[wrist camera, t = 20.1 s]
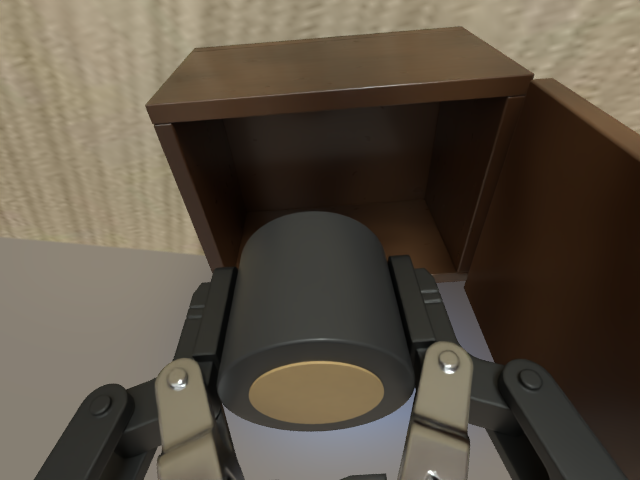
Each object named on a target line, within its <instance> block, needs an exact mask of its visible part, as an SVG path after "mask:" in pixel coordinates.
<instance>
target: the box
mask: <svg viewBox="0 0 640 480" xmlns="http://www.w3.org/2000/svg"><path fill="white" fill-rule="evenodd" d="M533 77H534V74H533V73H532V72H530V71H529V70H527V69H526V68H524V67H523V66H521V65H520V64H518V63H517V62H515V61H514V60H512V59H510V58H509V57H507V56H506V55H504V54H503V53H501V52H500V51H498V50H497V49H495V48H494V47H492V46H491V45H489V44H488V43H486V42H484V41H483V40H481V39H480V38H478V37H477V36H475V35H474V34H472V33H471V32H469V31H468V30H466V29H464V28H463V27H449V28H437V29H425V30H412V31H400V32H388V33H376V34H364V35H352V36H340V37H328V38H315V39H303V40H291V41H279V42H267V43H255V44H243V45H230V46H218V47H206V48H195V49H194V50H193V51H192V52H191V53H190V54H189V55H188V56H187V58H186V59H185V60H184V61H183V62H182V63H181V64H180V66H179V67H178V68H177V69H176V70H175V71H174V73H173V74H172V75H171V76H170V77H169V78H168V79H167V81H166V82H165V83H164V84H163V85H162V86H161V87H160V89H159V90H158V91H157V92H156V93H155V94H154V96H153V97H152V98H151V99H150V100H149V101H148V102H147V104H146V105H145V106H146V109H147V111H148V114H149V116H150V119H151V121H152V124H154V128H155V131H156V133H157V136H158V138H159V141H160V143H161V146H162V148H163V151H164V153H165V156H166V158H167V161H168V163H169V166H170V168H171V171H172V173H173V176H174V178H175V181H176V183H177V186H178V188H179V191H180V193H181V196H182V198H183V201H184V203H185V206H186V208H187V211H188V213H189V216H190V218H191V221H192V223H193V226H194V228H195V231H196V233H197V236H198V238H199V241H200V243H201V246H202V248H203V251H204V253H205V256H206V258H207V260H208V263H209V266H210V268H211V271H212V273H213V272H214V269H215V268H220V267H234V266H236V267H237V269H239V264H240V259H241V254H242V251H243V248H244V246H245V244H246V243H247V241H248V240H249V239H250V237H251V236H252V235H253V234H254V233H255V232H256V231H257V230H258V229H259V228H261V227H262V226H264V225H265V224H267V223H268V222H270V221H272V220H274V219H276V218H279V217H282V216H285V215H288V214H292V213H297V212H305V211H324V212H332V213H337V214H341V215H344V216H347V217H350V218H352V219H354V220H356V221H358V222H360V223H362V224H363V225H365V226H366V227H367V228H369V229H370V230H371V231H372V232H373V233H374V234H375V235H376V236H377V237H378V239H379V240H380V242H381V244H382V246H383V248H384V251H385V255H386V259H387V263H388V257H389V256H395V255H410V257H411V260H412V263H413V267H414V268H425V269H426V270H427V271H428V272H429V273H430V274H431V275H432V276H433V277H434V278H435V281H436V283H441V282H455V281H466V279H467V276H468V273H469V270H470V267H471V264H472V261H473V258H474V255H475V251H476V248H477V245H478V242H479V239H480V236H481V233H482V230H483V227H484V223H485V220H486V217H487V214H488V211H489V208H490V205H491V202H492V199H493V196H494V192H495V189H496V186H497V183H498V180H499V177H500V174H501V171H502V168H503V165H504V161H505V158H506V155H507V152H508V149H509V146H510V143H511V140H512V137H513V133H514V130H515V127H516V124H517V121H518V118H519V115H520V112H521V109H522V106H523V102H524V99H525V96H526V93H527V90H528V87H529V84H530V81H531V80H533Z"/></svg>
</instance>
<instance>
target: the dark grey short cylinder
mask: <svg viewBox="0 0 640 480" xmlns="http://www.w3.org/2000/svg"><path fill="white" fill-rule="evenodd" d="M216 388H217V394H218V397H219V399H220V401H221V402H222V403H223V405H224V406H225V407H226V408H227V409H228V410H230V411H231V412H232V413H234V414H235V415H237V416H239V417H241V418H243V419H245V420H248V421H250V422H252V423H256V424H259V425H262V426H266V427H270V428H276V429H282V430H290V431H329V430H338V429H345V428H350V427H355V426H359V425H363V424H366V423H369V422H372V421H375V420H378V419H380V418H383V417H385V416H387V415H389V414H391V413H393V412H394V411H396V410H397V409H399V408H400V407H401V406H402V405H404V404H405V403H406V402H407V401H408V400H409V398H410V397H411V395H412V393H413V391H414V388H415V375H414V370H413V366H412V362H411V358H410V354H409V350H408V346H407V341H406V337H405V333H404V329H403V325H402V321H401V317H400V313H399V308H398V304H397V300H396V296H395V292H394V288H393V284H392V280H391V275H390V271H389V267H388V263H387V259H386V255H385V251H384V248H383V246H382V244H381V242H380V240H379V239H378V237H377V236H376V235H375V234H374V233H373V232H372V231H371V230H370V229H369V228H367V227H366V226H365V225H363V224H362V223H360V222H358V221H356V220H354V219H352V218H350V217H347V216H344V215H341V214H337V213H332V212H324V211H305V212H297V213H292V214H288V215H285V216H282V217H279V218H276V219H274V220H272V221H270V222H268V223H267V224H265V225H264V226H262V227H261V228H259V229H258V230H257V231H256V232H255V233H254V234H253V235H252V236H251V237H250V239H249V240H248V241H247V243H246V244H245V246H244V248H243V251H242V254H241V259H240V264H239V269H238V274H237V280H236V285H235V290H234V295H233V300H232V306H231V311H230V316H229V321H228V326H227V332H226V337H225V342H224V347H223V352H222V358H221V363H220V368H219V373H218V378H217V385H216Z"/></svg>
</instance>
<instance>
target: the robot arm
mask: <svg viewBox="0 0 640 480" xmlns="http://www.w3.org/2000/svg"><path fill="white" fill-rule="evenodd" d="M388 267H389V271H390V275H391V280H392V284H393V288H394V292H395V296H396V300H397V304H398V308H399V313H400V317H401V321H402V325H403V329H404V333H405V337H406V341H407V346H408V350H409V354H410V358H411V362H412V366H413V370H414V375H415V388H416V393H415V397H414V402H413V407H412V412H411V416H410V422H409V426H408V431H407V436H406V441H405V446H404V451H403V455H402V459H401V464H400V468H399V473H398V478H397V480H467V478H468V477H467V476H468V465H469V454H470V439H469V437H468V434H467V429H468V423H469V424H472V425H476V426H479V427H483V428H485V429H486V431H487V433H488V434H489V437H490V438H491V440H492V442H493V444H494V446H495V448H496V450H497V452H498V453H499V455H500V457H501V459H502V461H503V463H504V465H505V467H506V469H507V471H508V472H509V474H510V476H511V478H512V480H628V478H627V477H626V476H625V474H624V473H623V472H622V470H621V469H620V468H619V466H618V465H617V464H616V462H615V461H614V459H613V458H612V457H611V455H610V454H609V453H608V451H607V450H606V449H605V447H604V446H603V445H602V443H601V442H600V441H599V439H598V438H597V436H596V435H595V434H594V432H593V431H592V430H591V428H590V427H589V426H588V424H587V423H586V422H585V420H584V419H583V418H582V416H581V415H580V413H579V412H578V411H577V409H576V408H575V407H574V405H573V404H572V403H571V401H570V400H569V399H568V397H567V396H566V395H565V393H564V392H563V390H562V389H561V388H560V386H559V385H558V384H557V382H556V381H555V380H554V378H553V377H552V376H551V374H550V373H549V372H548V371H547V370H546V369H545V368H543V367H542V366H541V365H539V364H537V363H535V362H533V361H530V360H527V359H514V360H511V361H510V362H508V363H507V364H506V365H501V364H497V363H493V362H489V361H485V360H481V359H478V358H476V357H474V356H472V355H470V354H469V353H467V352H466V351H465V350H464V349H463V348H462V347H461V346H460V344H459V343H458V341H457V339H456V336H455V333H454V331H453V328H452V325H451V322H450V320H449V317H448V315H447V311H446V309H445V306H444V304H443V302H442V298H441V295H440V293H439V289H438V287H437V284H436V281H435V278H434V277H433V276H432V275H431V274H430V273H429V272H428V271H427V270H426V269H425V268H414V267H413V263H412V260H411V257H410V255H395V256H389V257H388ZM237 274H238V269H237V267H236V266H234V267H220V268H215V269H214V272H213V276H212V279H211V282H208V283H201V285H200V286H199V287H198V289H197V290H196V291H195V292H194V294H193V296H192V300H191V303H190V306H189V307H190V309H189V310H188V313H187V319H186V320H185V323H184V326H183V329H182V333H181V336H180V340H179V343H178V346H177V350H176V353H175V356H174V359H173V361H172V362H171V363H169V364H168V365H166V366H165V367H164V368H163V369H162V370H161V372H160V373H159V374H158V377H156V378H154V379H152V380H150V381H148V382H145V383H142V384H140V385H137V386H134V387H132V388H129V389H127V390H126V389H125V388H124V387H122V386H121V385H119V384H107V385H104V386H101V387H99V388H98V389H96V390H94V391H93V392H92V393H90V394H89V395H88V396H87V397H86V399H85V400H84V401H83V403H82V404H81V406H80V407H79V408H78V410H77V412H76V414H75V415H74V417H73V418H72V420H71V421H70V423H69V425H68V426H67V428H66V429H65V431H64V432H63V434H62V436H61V437H60V439H59V440H58V442H57V444H56V445H55V447H54V448H53V450H52V452H51V453H50V455H49V456H48V458H47V459H46V461H45V463H44V464H43V466H42V467H41V469H40V471H39V472H38V474H37V475H36V477H35V479H34V480H144V477H145V475H146V473H147V470H148V468H149V466H150V463H151V461H152V459H153V457H154V454H155V452H156V450H157V447H158V446H160V445H162V453H161V455H159V456H158V459H157V474H158V480H245V479H244V476H243V473H242V470H241V468H240V465H239V463H238V460H237V457H236V453H235V450H234V446H233V442H232V438H231V435H230V431H229V427H228V423H227V420H226V416H225V413H224V409H223V405H222V402H221V401H220V399H219V397H218V394H217V388H216V385H217V378H218V373H219V368H220V363H221V358H222V352H223V347H224V342H225V337H226V332H227V326H228V321H229V316H230V311H231V306H232V300H233V295H234V290H235V285H236V280H237ZM341 480H387V477H386V474H370V475H352V476H348V477H346V478H343V479H341Z"/></svg>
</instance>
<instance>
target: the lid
mask: <svg viewBox="0 0 640 480" xmlns="http://www.w3.org/2000/svg"><path fill="white" fill-rule="evenodd" d="M464 289H465V292H466V294H467V296H468V299H469V301H470V304H471V306H472V309H473V311H474V313H475V316H476V319H477V321H478V323H479V326H480V328H481V330H482V333H483V335H484V338H485V340H486V343H487V345H488V348H489V350H490V352H491V355H492V357H493V360H494V362H495V363H497V364H501V365H506V364H507V363H508V362H510V361H511V360H514V359H527V360H530V361H533V362H535V363H537V364H539V365H541V366H542V367H543V368H545V369H546V370H547V371H548V372H549V373H550V374H551V376H552V377H553V378H554V380H555V381H556V382H557V384H558V385H559V386H560V388H561V389H562V390H563V392H564V393H565V395H566V396H567V397H568V399H569V400H570V401H571V403H572V404H573V405H574V407H575V408H576V409H577V411H578V412H579V413H580V415H581V416H582V418H583V419H584V420H585V422H586V423H587V424H588V426H589V427H590V428H591V430H592V431H593V432H594V434H595V435H596V436H597V438H598V439H599V441H600V442H601V443H602V445H603V446H604V447H605V449H606V450H607V451H608V453H609V454H610V455H611V457H612V458H613V459H614V461H615V462H616V464H617V465H618V466H619V468H620V469H621V470H622V472H623V473H624V474H625V476H626V477H627V478H628V480H640V135H639V134H638V133H636V132H635V131H633V130H632V129H630V128H629V127H627V126H625V125H624V124H622V123H621V122H619V121H618V120H616V119H615V118H613V117H612V116H610V115H609V114H607V113H606V112H604V111H602V110H601V109H599V108H598V107H596V106H595V105H593V104H592V103H590V102H589V101H587V100H586V99H584V98H582V97H581V96H579V95H578V94H576V93H575V92H573V91H572V90H570V89H569V88H567V87H566V86H564V85H563V84H561V83H559V82H558V81H556V80H555V79H553V78H548V79H534V80H531V81H530V84H529V87H528V90H527V93H526V96H525V99H524V102H523V106H522V109H521V112H520V115H519V118H518V121H517V124H516V127H515V130H514V133H513V137H512V140H511V143H510V146H509V149H508V152H507V155H506V158H505V161H504V165H503V168H502V171H501V174H500V177H499V180H498V183H497V186H496V189H495V192H494V196H493V199H492V202H491V205H490V208H489V211H488V214H487V217H486V220H485V223H484V227H483V230H482V233H481V236H480V239H479V242H478V245H477V248H476V251H475V255H474V258H473V261H472V264H471V267H470V270H469V273H468V276H467V279H466V282H465V286H464Z"/></svg>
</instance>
